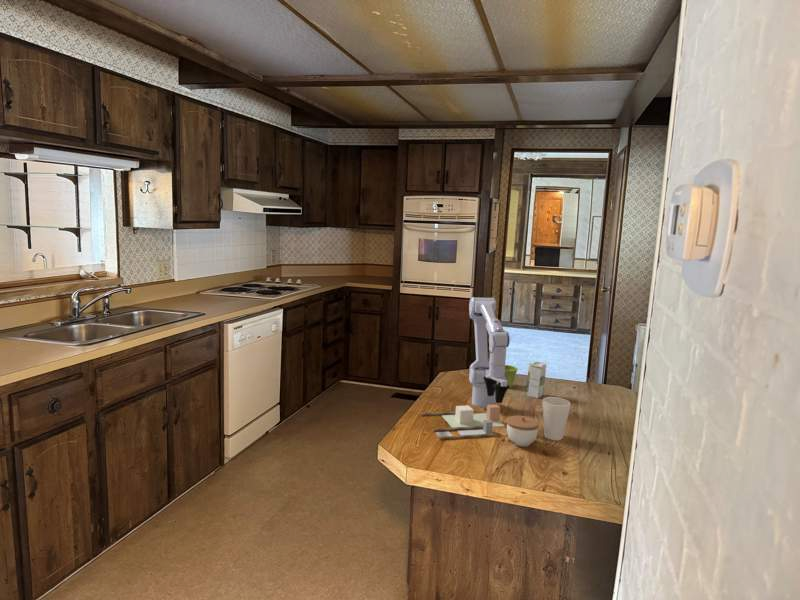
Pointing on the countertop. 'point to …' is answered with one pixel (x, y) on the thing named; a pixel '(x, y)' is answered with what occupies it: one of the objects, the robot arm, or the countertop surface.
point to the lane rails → (448, 435)
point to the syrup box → (536, 379)
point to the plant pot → (510, 374)
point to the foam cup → (555, 417)
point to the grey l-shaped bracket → (486, 430)
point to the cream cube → (464, 414)
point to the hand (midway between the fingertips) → (494, 399)
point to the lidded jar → (522, 430)
